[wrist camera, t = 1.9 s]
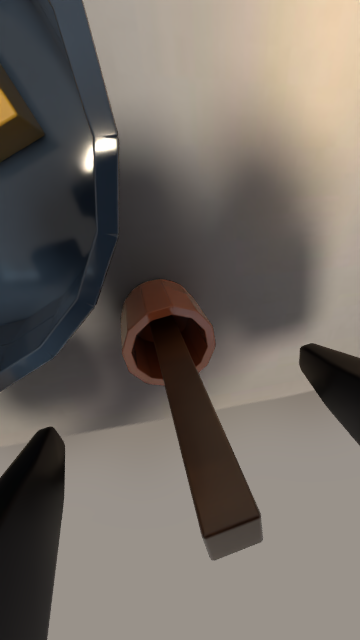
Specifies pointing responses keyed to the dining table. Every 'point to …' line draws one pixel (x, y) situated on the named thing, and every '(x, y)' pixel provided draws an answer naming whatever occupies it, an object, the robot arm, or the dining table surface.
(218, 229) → the dining table surface
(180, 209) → the dining table surface
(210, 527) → the stick
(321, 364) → the robot arm
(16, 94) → the mustard block
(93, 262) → the bowl
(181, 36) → the dining table surface
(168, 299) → the holder
